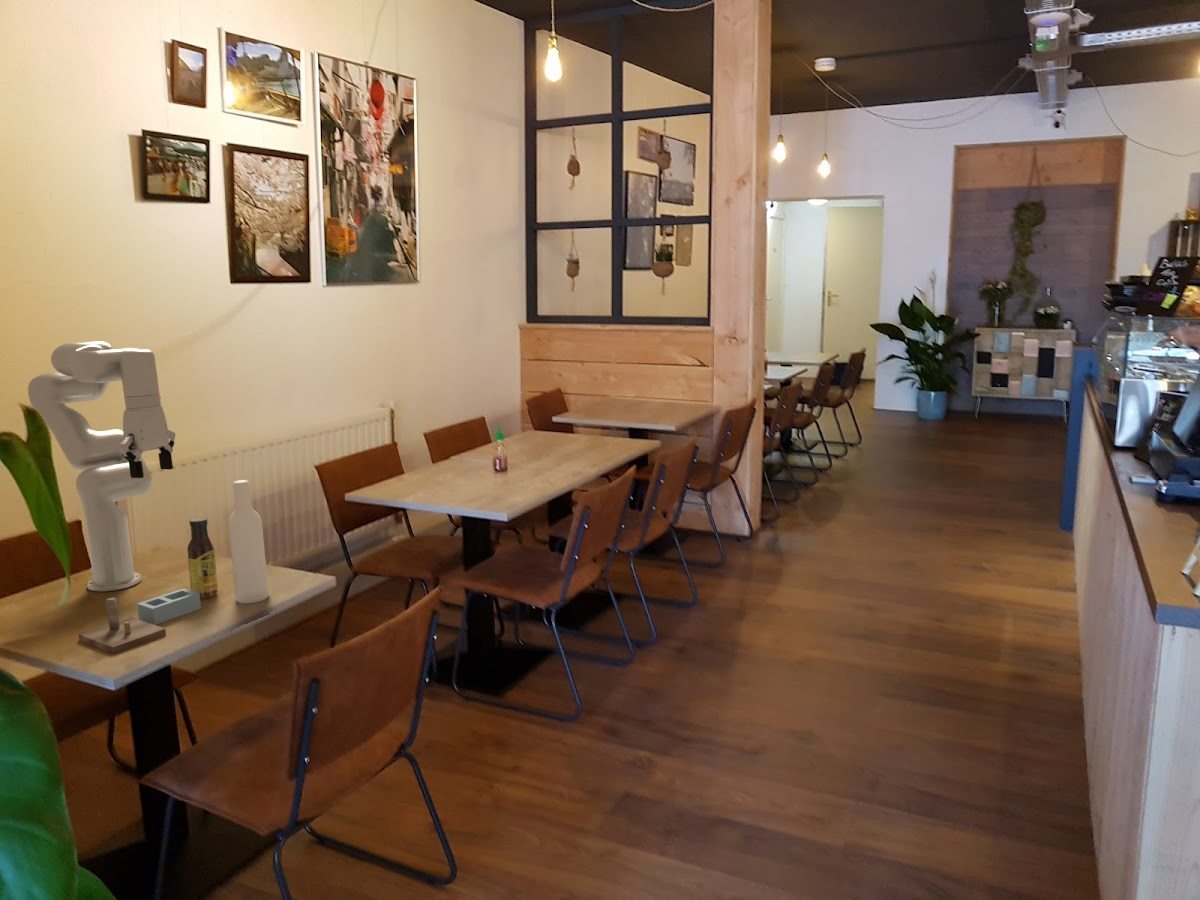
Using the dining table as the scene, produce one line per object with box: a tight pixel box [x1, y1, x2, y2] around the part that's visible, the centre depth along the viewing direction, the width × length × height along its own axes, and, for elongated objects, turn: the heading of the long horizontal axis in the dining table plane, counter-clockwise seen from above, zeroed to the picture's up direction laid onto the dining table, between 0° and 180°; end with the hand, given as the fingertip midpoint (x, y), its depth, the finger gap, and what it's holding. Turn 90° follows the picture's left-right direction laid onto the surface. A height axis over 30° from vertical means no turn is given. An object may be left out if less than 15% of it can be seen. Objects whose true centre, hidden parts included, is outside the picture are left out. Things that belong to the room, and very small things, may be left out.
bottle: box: [227, 479, 270, 605], centre depth 226 cm, size 8×8×30 cm
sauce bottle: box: [187, 517, 219, 600], centre depth 229 cm, size 6×6×20 cm
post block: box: [78, 597, 167, 655], centre depth 205 cm, size 14×12×8 cm
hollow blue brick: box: [136, 587, 202, 626], centre depth 219 cm, size 12×6×4 cm, turn 147°
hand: (152, 473), depth 219 cm, fingers open, 9 cm apart
